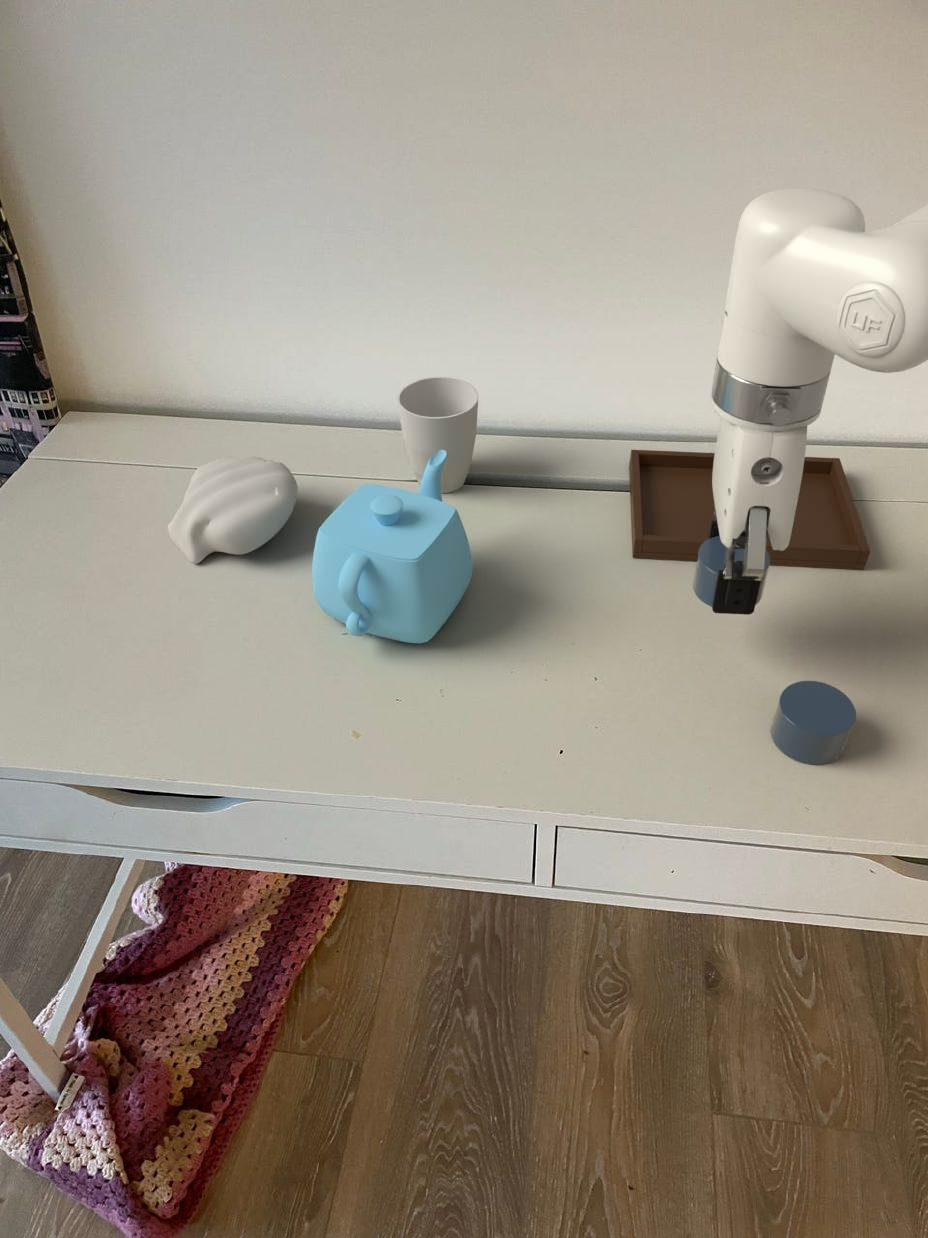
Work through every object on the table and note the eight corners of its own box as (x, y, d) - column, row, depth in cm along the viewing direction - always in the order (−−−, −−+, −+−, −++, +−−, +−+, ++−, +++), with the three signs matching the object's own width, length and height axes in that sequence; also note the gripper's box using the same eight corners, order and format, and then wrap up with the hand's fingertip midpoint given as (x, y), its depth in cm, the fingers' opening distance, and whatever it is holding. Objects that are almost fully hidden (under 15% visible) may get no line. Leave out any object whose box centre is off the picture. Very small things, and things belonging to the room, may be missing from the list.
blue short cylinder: (770, 579, 78) (778, 545, 76) (751, 619, 74) (759, 585, 72) (704, 560, 80) (710, 527, 78) (683, 599, 76) (689, 565, 74)
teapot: (503, 557, 91) (504, 456, 83) (417, 680, 79) (409, 576, 71) (391, 525, 95) (382, 426, 87) (293, 638, 83) (273, 535, 75)
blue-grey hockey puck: (851, 725, 74) (863, 695, 72) (835, 775, 71) (847, 745, 69) (780, 701, 76) (789, 671, 74) (762, 749, 73) (771, 719, 71)
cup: (489, 465, 102) (488, 383, 96) (464, 508, 97) (462, 423, 90) (419, 453, 104) (414, 371, 98) (392, 494, 99) (384, 410, 92)
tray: (834, 476, 100) (839, 457, 98) (864, 570, 88) (870, 551, 87) (629, 467, 102) (631, 449, 100) (632, 558, 90) (634, 539, 89)
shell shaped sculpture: (307, 491, 100) (298, 438, 95) (298, 567, 90) (289, 512, 86) (183, 497, 99) (169, 444, 95) (162, 574, 90) (146, 520, 85)
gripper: (848, 454, 58) (790, 661, 70) (804, 331, 71) (761, 525, 83) (725, 450, 59) (688, 656, 71) (703, 329, 72) (675, 522, 84)
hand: (728, 584), depth 77 cm, fingers closed on blue short cylinder, 5 cm apart
